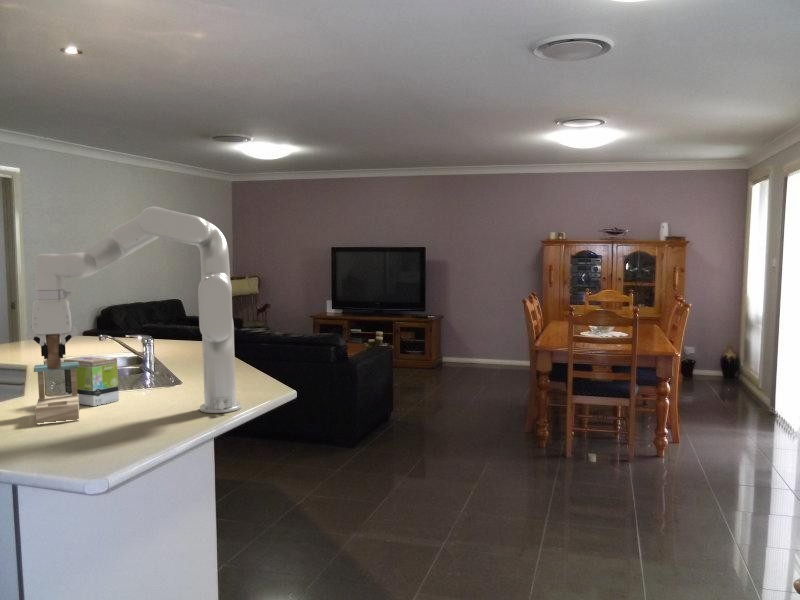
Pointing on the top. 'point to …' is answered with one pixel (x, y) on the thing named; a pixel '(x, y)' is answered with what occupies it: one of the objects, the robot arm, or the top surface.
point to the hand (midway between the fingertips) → (53, 357)
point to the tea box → (94, 380)
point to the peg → (53, 352)
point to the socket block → (57, 398)
